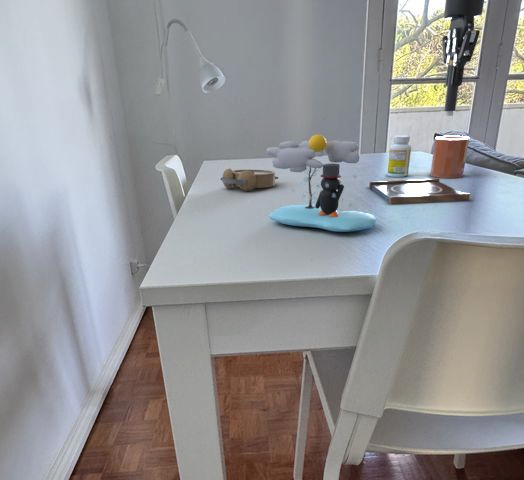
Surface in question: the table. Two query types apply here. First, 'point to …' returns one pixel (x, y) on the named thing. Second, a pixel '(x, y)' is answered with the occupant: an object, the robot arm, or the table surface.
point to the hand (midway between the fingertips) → (453, 85)
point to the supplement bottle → (399, 156)
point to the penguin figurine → (328, 199)
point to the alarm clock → (248, 179)
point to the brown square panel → (417, 191)
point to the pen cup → (449, 156)
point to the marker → (451, 93)
